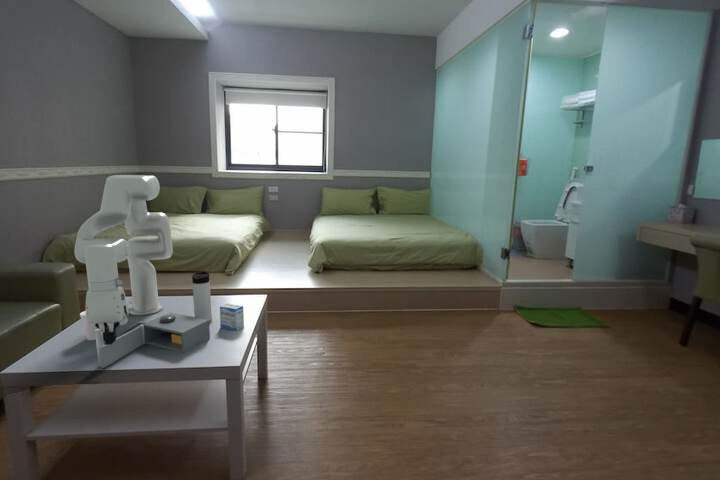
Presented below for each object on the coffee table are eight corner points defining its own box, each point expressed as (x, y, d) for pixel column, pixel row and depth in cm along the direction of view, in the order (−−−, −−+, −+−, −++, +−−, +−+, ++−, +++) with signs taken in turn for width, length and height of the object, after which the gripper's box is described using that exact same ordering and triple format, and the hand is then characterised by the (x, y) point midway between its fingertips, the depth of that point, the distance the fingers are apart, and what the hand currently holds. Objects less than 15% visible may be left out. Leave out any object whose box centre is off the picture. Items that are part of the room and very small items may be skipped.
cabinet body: (144, 343, 136) (142, 321, 135) (172, 330, 147) (170, 309, 146) (184, 352, 130) (182, 329, 128) (210, 338, 141) (208, 317, 139)
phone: (156, 322, 153) (135, 338, 138) (157, 324, 153) (135, 341, 138) (137, 322, 153) (114, 338, 138) (138, 324, 153) (114, 340, 138)
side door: (138, 342, 136) (135, 310, 134) (145, 342, 136) (142, 310, 134) (96, 367, 119) (92, 331, 117) (103, 368, 118) (99, 332, 116)
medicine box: (220, 328, 150) (219, 306, 148) (227, 323, 154) (226, 302, 152) (237, 331, 147) (236, 309, 146) (244, 326, 151) (243, 305, 150)
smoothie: (102, 332, 144) (97, 296, 141) (106, 338, 139) (102, 300, 137) (81, 337, 140) (76, 300, 137) (84, 343, 135) (80, 305, 132)
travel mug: (215, 318, 158) (212, 271, 155) (207, 325, 152) (204, 275, 148) (200, 318, 159) (197, 270, 155) (191, 324, 153) (188, 275, 149)
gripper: (136, 280, 120) (141, 336, 123) (82, 281, 117) (89, 338, 121) (126, 288, 112) (132, 347, 116) (68, 289, 110) (76, 349, 114)
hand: (110, 342), depth 118 cm, fingers closed
